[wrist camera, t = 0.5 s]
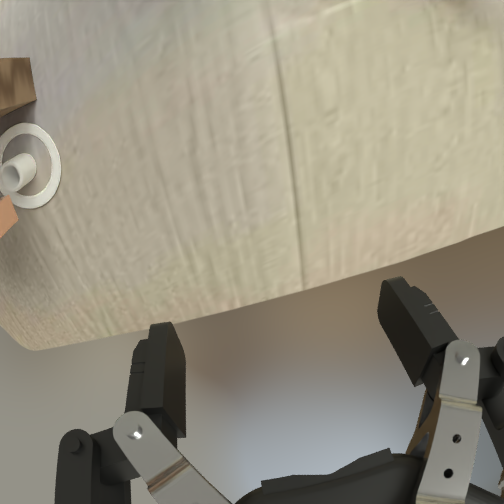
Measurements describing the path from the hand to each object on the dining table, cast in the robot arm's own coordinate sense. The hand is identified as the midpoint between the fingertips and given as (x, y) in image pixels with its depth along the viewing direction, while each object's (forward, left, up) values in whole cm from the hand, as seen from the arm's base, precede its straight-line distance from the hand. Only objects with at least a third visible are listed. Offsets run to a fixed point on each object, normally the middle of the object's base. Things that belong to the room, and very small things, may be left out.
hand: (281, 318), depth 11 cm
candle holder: (-4, -27, -30) cm, 40 cm away
